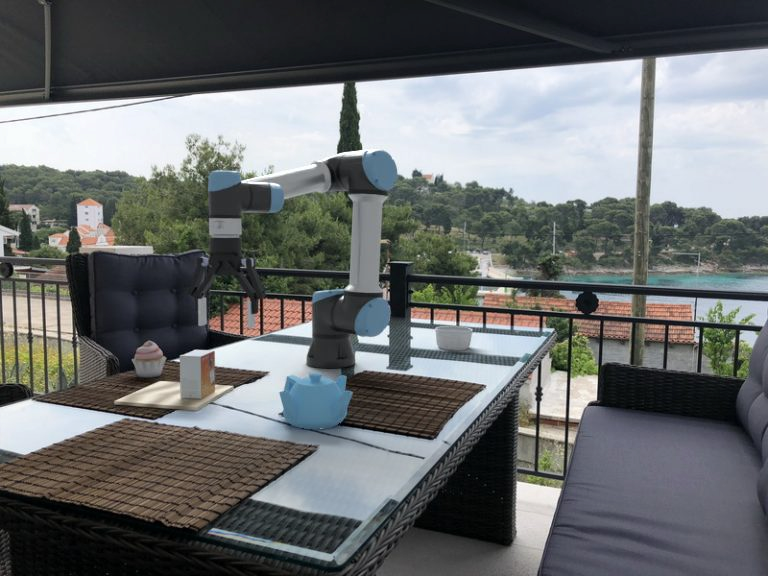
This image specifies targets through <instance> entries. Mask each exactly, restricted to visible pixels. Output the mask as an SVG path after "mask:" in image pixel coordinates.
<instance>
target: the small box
mask: <svg viewBox="0 0 768 576" xmlns="http://www.w3.org/2000/svg"><path fill="white" fill-rule="evenodd" d="M215 356H216V354H215V350H209V349H208V350H207V349H193V350H192V351H189V352H186V353H184V354H180V355H179V382H180V397H181V398H194V399H202V398H203V397H205V396H207V395H209V394H211V393H213V392H215V385H216V357H215Z"/></svg>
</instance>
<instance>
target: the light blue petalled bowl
mask: <svg viewBox="0 0 768 576" xmlns="http://www.w3.org/2000/svg"><path fill="white" fill-rule="evenodd" d="M322 376H323V374H322V373H321V372H310V373H309V374H308V377H304V378H300V377H298V376H297V375H295V374H290V375H287V376H286V379H285V384H284V388H283V391H279V398H280V400H281V404H282V408H283V410H282V415H283V417H284V419H285V420H286V421H287V423H289V425H290V424H291V425H290V426H291V427H294V426H295V427H294V428H297V427H298V429H301V428H304V429H303V430H310V429H317V430H321V429H320V428H327V429H330V428H329V427H331V428H334V427H333V426H335V427H337V426H338V424H339V423H340V424H341V423H342V422H343V421H344V420H345V418H346V416H347V415H348V406H349V404H350V401H351V399H352V397H353V394H354V392H353V391H350V390H346V388H347V387H346V386H347V385H346V384H347V378H348V377H347V375H344V374H343V375H339V376H338V377H337V379H336V381H335V380H334V379H332V378H328V377H322ZM340 424H339V425H340ZM336 425H337V426H336Z"/></svg>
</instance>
